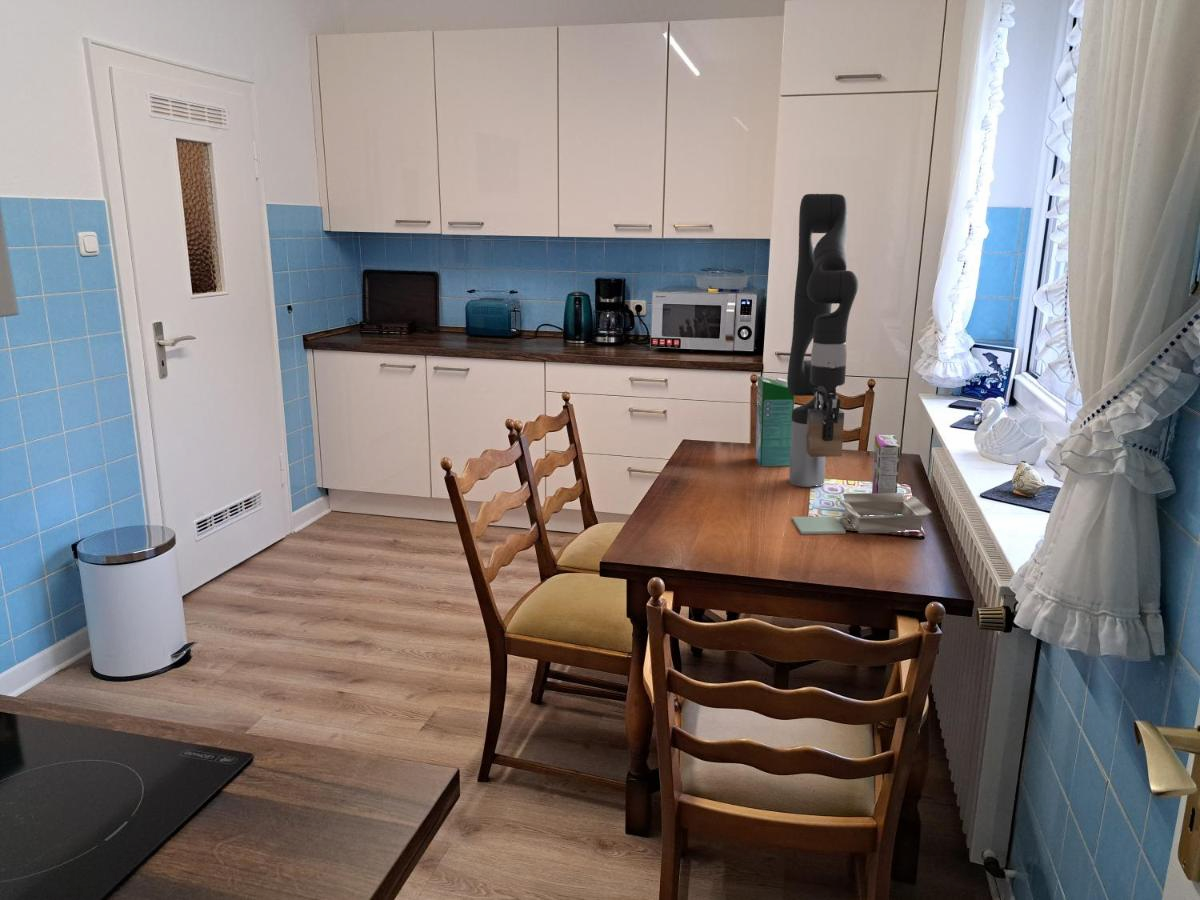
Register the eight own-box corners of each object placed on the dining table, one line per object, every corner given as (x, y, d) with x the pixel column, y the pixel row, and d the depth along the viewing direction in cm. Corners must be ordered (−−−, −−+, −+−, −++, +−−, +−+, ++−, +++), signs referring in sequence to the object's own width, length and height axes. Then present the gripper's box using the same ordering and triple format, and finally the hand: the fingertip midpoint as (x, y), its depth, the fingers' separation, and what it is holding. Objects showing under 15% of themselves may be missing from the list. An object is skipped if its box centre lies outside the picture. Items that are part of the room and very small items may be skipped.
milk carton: (791, 466, 247) (795, 380, 240) (760, 466, 247) (763, 381, 241) (785, 457, 256) (788, 375, 249) (755, 458, 256) (757, 375, 249)
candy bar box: (870, 495, 219) (874, 433, 215) (890, 496, 218) (895, 434, 214) (874, 509, 209) (879, 445, 204) (896, 510, 208) (901, 445, 203)
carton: (832, 512, 207) (833, 493, 206) (909, 511, 207) (910, 492, 206) (851, 537, 191) (853, 516, 190) (934, 535, 191) (936, 515, 190)
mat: (792, 519, 203) (792, 516, 203) (834, 518, 203) (834, 516, 203) (801, 534, 193) (801, 531, 193) (845, 533, 193) (845, 531, 193)
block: (805, 451, 196) (807, 409, 193) (836, 451, 196) (838, 408, 193) (810, 456, 192) (812, 413, 189) (841, 456, 192) (844, 412, 189)
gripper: (803, 358, 195) (800, 430, 200) (819, 368, 181) (815, 446, 186) (836, 357, 195) (832, 430, 200) (854, 367, 181) (850, 445, 186)
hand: (824, 437), depth 193 cm, fingers closed on block, 4 cm apart
